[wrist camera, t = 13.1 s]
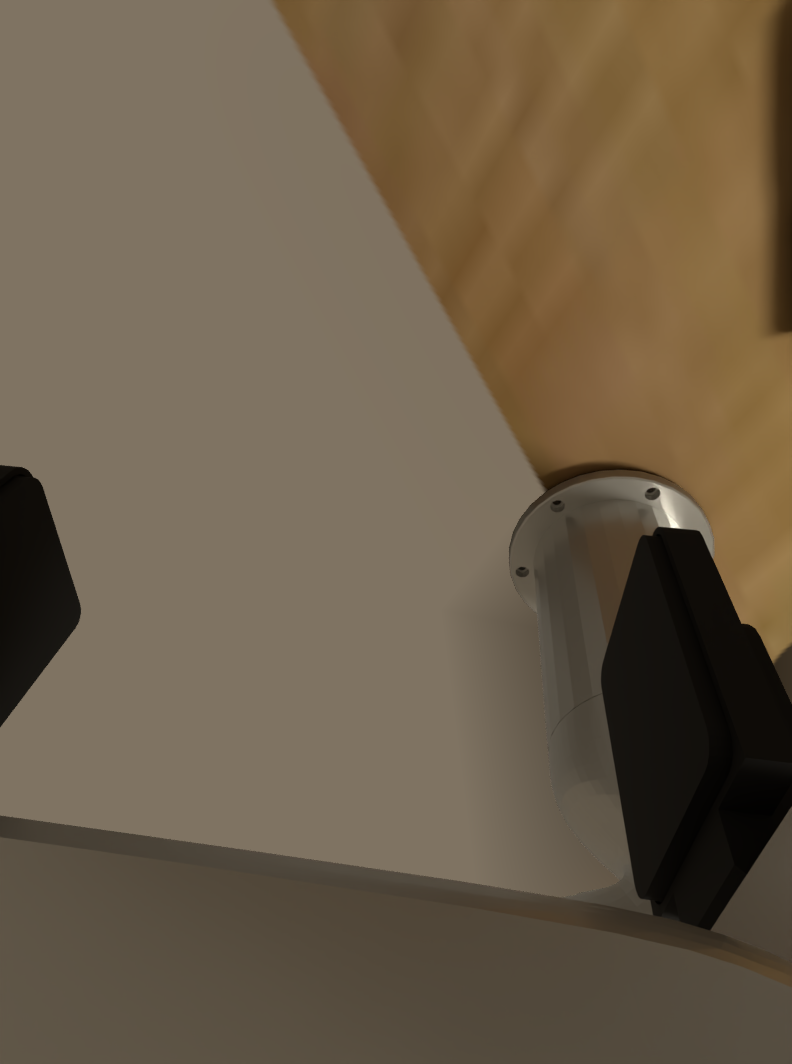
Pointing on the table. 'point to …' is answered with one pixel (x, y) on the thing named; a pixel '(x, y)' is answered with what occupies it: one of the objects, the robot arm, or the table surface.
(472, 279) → the table surface
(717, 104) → the table surface
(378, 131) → the table surface
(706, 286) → the table surface
